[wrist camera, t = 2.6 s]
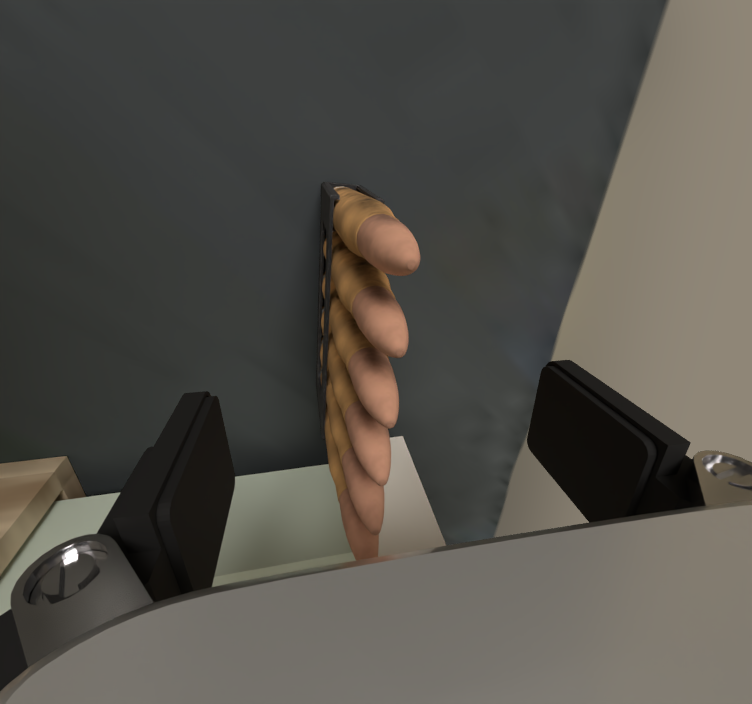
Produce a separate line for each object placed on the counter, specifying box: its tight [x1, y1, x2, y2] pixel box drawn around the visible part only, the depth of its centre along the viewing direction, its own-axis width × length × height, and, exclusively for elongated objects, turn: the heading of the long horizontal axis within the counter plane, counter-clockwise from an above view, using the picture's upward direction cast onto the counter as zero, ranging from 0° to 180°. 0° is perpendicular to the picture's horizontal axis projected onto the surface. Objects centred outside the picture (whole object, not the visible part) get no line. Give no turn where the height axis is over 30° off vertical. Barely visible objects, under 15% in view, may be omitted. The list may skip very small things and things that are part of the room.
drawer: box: [0, 436, 446, 615], centre depth 19 cm, size 19×24×12 cm
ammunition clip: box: [316, 182, 420, 560], centre depth 14 cm, size 11×2×12 cm, turn 175°
